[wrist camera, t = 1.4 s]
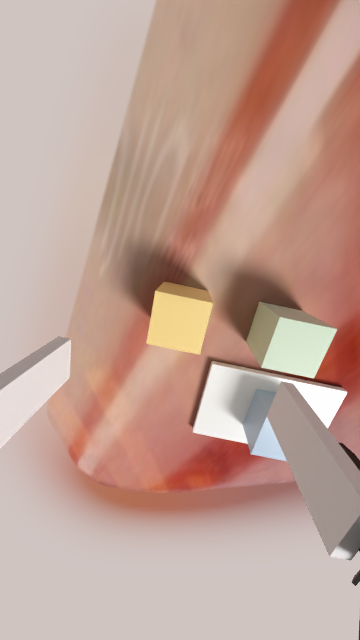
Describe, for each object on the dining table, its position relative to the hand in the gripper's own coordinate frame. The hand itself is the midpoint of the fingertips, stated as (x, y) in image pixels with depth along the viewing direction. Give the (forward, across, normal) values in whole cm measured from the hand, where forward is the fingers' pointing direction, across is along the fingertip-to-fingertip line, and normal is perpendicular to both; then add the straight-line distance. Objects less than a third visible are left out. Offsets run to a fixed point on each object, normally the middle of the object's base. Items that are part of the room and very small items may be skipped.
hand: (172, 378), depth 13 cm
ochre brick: (+17, 0, 0) cm, 17 cm away
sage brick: (+17, +13, 0) cm, 21 cm away
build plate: (+17, +16, -13) cm, 26 cm away
